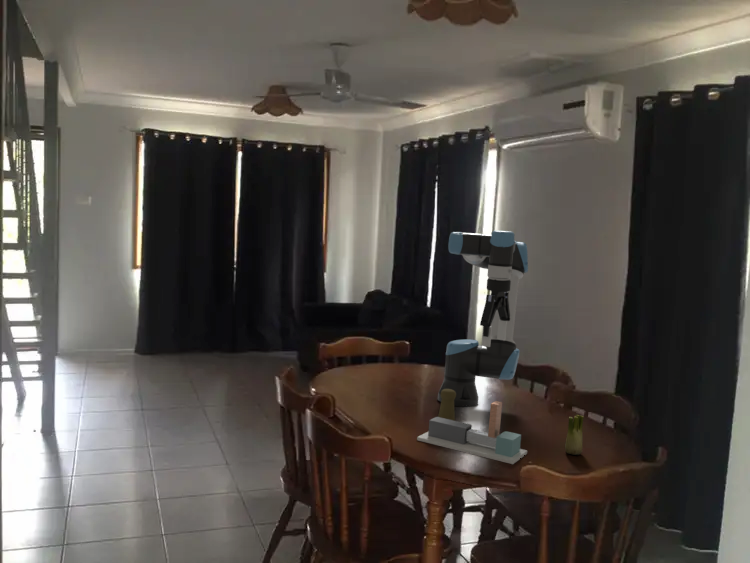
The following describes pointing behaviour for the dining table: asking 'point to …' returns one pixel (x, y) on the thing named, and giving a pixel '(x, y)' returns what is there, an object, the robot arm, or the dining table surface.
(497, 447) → the socket block
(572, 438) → the fennel bulb
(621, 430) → the dining table surface
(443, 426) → the outer sleeve
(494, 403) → the inner bar
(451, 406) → the cork
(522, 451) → the base board
